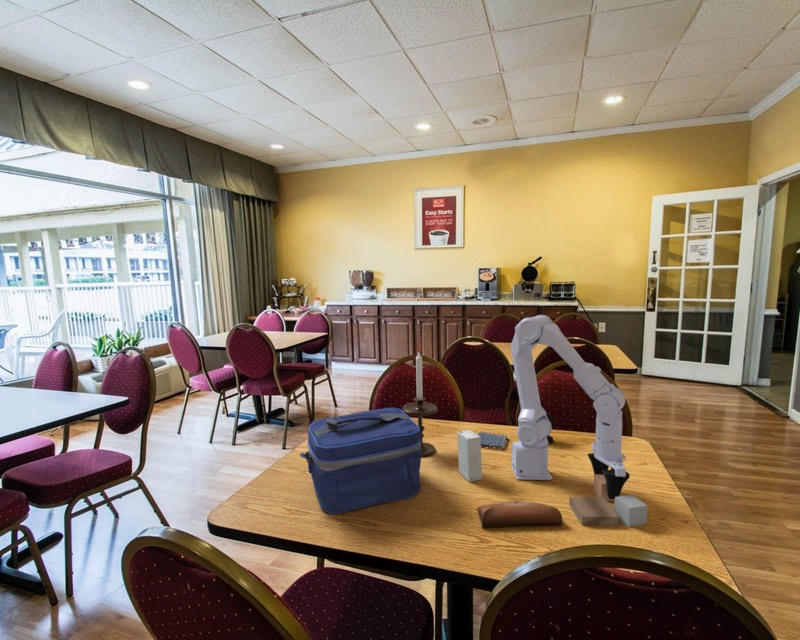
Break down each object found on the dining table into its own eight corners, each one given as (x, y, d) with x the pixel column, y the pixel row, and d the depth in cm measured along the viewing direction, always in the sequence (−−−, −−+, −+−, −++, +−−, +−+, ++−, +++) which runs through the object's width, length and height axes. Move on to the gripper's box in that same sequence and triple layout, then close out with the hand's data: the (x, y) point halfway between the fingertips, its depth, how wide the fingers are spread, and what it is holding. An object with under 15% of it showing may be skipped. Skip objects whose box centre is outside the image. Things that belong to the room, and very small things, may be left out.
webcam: (530, 444, 133) (530, 414, 132) (528, 435, 140) (528, 407, 139) (555, 446, 131) (555, 416, 130) (551, 437, 138) (552, 408, 137)
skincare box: (482, 479, 111) (482, 436, 109) (468, 482, 109) (467, 439, 108) (471, 469, 117) (471, 428, 115) (457, 472, 115) (456, 431, 114)
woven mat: (471, 448, 132) (471, 442, 132) (478, 436, 142) (478, 430, 142) (503, 452, 128) (504, 446, 128) (508, 440, 138) (508, 434, 138)
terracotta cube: (600, 500, 99) (601, 483, 99) (593, 491, 104) (594, 474, 103) (620, 501, 99) (620, 483, 99) (611, 491, 103) (612, 474, 103)
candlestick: (442, 447, 132) (441, 340, 128) (429, 461, 123) (427, 346, 119) (412, 441, 137) (410, 339, 133) (397, 454, 128) (395, 344, 124)
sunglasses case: (548, 504, 98) (554, 489, 94) (558, 534, 92) (565, 519, 88) (473, 507, 98) (476, 492, 94) (479, 537, 92) (482, 522, 88)
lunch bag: (309, 524, 93) (305, 437, 90) (296, 481, 112) (292, 409, 110) (431, 493, 104) (430, 416, 102) (399, 460, 124) (398, 394, 122)
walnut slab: (581, 527, 90) (581, 516, 90) (569, 506, 98) (569, 497, 98) (619, 527, 89) (619, 516, 89) (603, 507, 97) (603, 497, 97)
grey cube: (628, 527, 89) (629, 507, 88) (614, 515, 93) (614, 497, 93) (646, 524, 90) (647, 505, 89) (631, 513, 94) (632, 494, 94)
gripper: (640, 450, 92) (638, 506, 94) (612, 426, 107) (610, 476, 108) (608, 450, 93) (606, 506, 94) (584, 426, 107) (583, 475, 109)
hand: (606, 490), depth 101 cm, fingers open, 7 cm apart
